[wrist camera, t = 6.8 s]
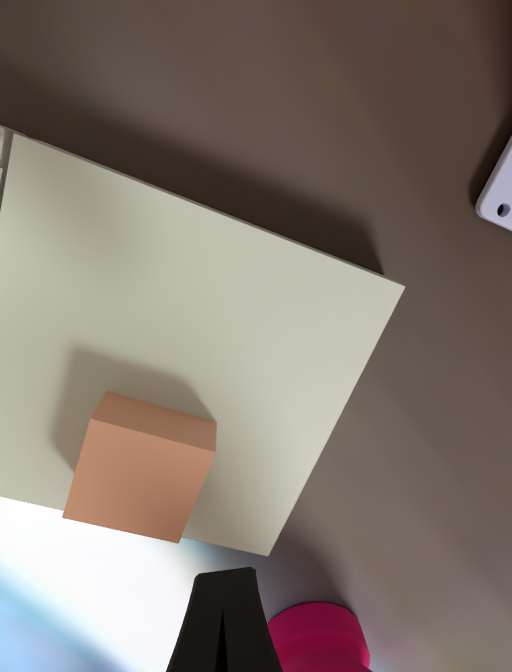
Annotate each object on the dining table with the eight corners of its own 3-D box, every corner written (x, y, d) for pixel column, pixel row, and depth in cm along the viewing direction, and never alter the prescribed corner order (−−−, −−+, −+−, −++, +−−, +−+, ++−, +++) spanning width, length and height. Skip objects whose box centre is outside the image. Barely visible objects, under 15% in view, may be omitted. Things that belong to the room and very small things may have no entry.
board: (385, 276, 17) (405, 286, 15) (264, 523, 21) (268, 556, 19) (41, 140, 14) (13, 133, 12) (-19, 455, 18) (-47, 486, 16)
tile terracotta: (216, 422, 16) (215, 452, 14) (183, 505, 17) (178, 543, 16) (106, 390, 15) (90, 418, 13) (80, 480, 17) (62, 517, 15)
